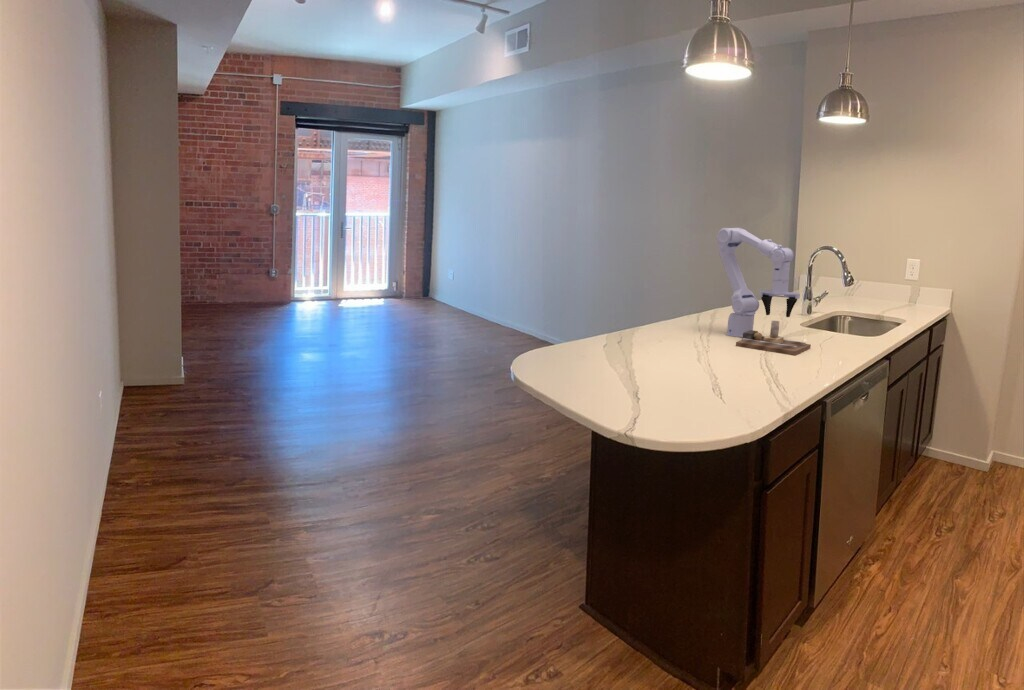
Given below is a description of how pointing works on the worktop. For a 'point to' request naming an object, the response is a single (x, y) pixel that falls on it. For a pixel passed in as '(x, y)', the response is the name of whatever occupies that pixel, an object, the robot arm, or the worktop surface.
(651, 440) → the worktop surface
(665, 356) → the worktop surface
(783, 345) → the board
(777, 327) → the press ram
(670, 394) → the worktop surface
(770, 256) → the robot arm
